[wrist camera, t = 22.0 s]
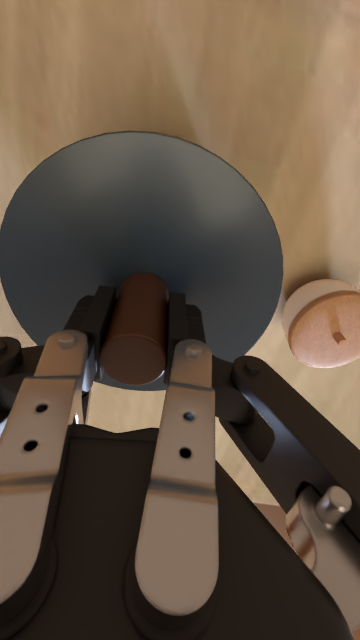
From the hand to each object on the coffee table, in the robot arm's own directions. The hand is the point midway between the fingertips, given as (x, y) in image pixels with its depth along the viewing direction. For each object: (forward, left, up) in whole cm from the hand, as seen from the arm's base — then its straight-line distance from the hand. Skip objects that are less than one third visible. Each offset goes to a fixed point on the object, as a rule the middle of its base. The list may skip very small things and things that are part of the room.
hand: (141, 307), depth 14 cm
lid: (0, 0, -2) cm, 2 cm away
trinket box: (+22, -11, -24) cm, 34 cm away
